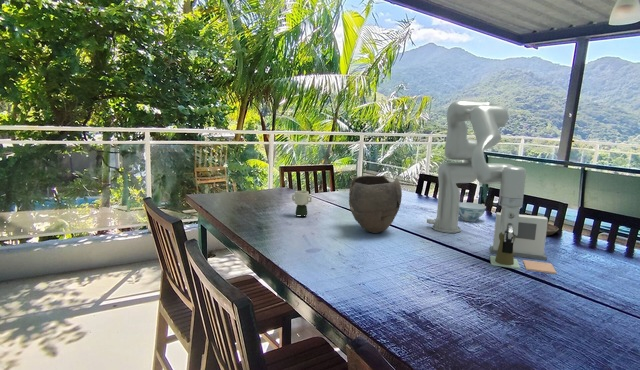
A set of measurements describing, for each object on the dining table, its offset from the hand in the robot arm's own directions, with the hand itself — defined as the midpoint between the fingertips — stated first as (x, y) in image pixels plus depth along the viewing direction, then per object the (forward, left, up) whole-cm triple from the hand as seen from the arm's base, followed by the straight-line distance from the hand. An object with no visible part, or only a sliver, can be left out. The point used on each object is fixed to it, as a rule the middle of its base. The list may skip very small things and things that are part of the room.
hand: (505, 248), depth 137 cm
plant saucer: (+17, +54, -6) cm, 56 cm away
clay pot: (-52, +18, -6) cm, 56 cm away
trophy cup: (-92, +30, -6) cm, 98 cm away
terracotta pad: (+11, 0, -5) cm, 12 cm away
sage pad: (0, 0, -5) cm, 5 cm away
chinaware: (-11, +62, -6) cm, 64 cm away
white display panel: (+6, +12, -5) cm, 15 cm away
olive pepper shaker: (0, -1, -5) cm, 5 cm away
